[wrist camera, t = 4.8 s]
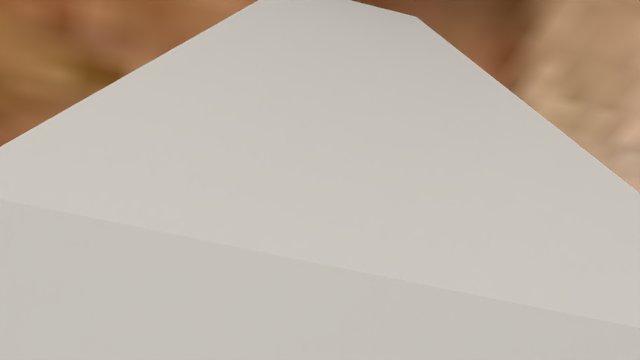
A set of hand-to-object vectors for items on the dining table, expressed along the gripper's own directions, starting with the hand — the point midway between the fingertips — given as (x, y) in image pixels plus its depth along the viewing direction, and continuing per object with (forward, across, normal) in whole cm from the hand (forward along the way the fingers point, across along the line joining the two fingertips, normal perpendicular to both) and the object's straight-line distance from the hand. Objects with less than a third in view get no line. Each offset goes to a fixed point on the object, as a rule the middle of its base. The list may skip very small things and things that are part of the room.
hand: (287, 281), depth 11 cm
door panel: (+2, 0, 0) cm, 2 cm away
